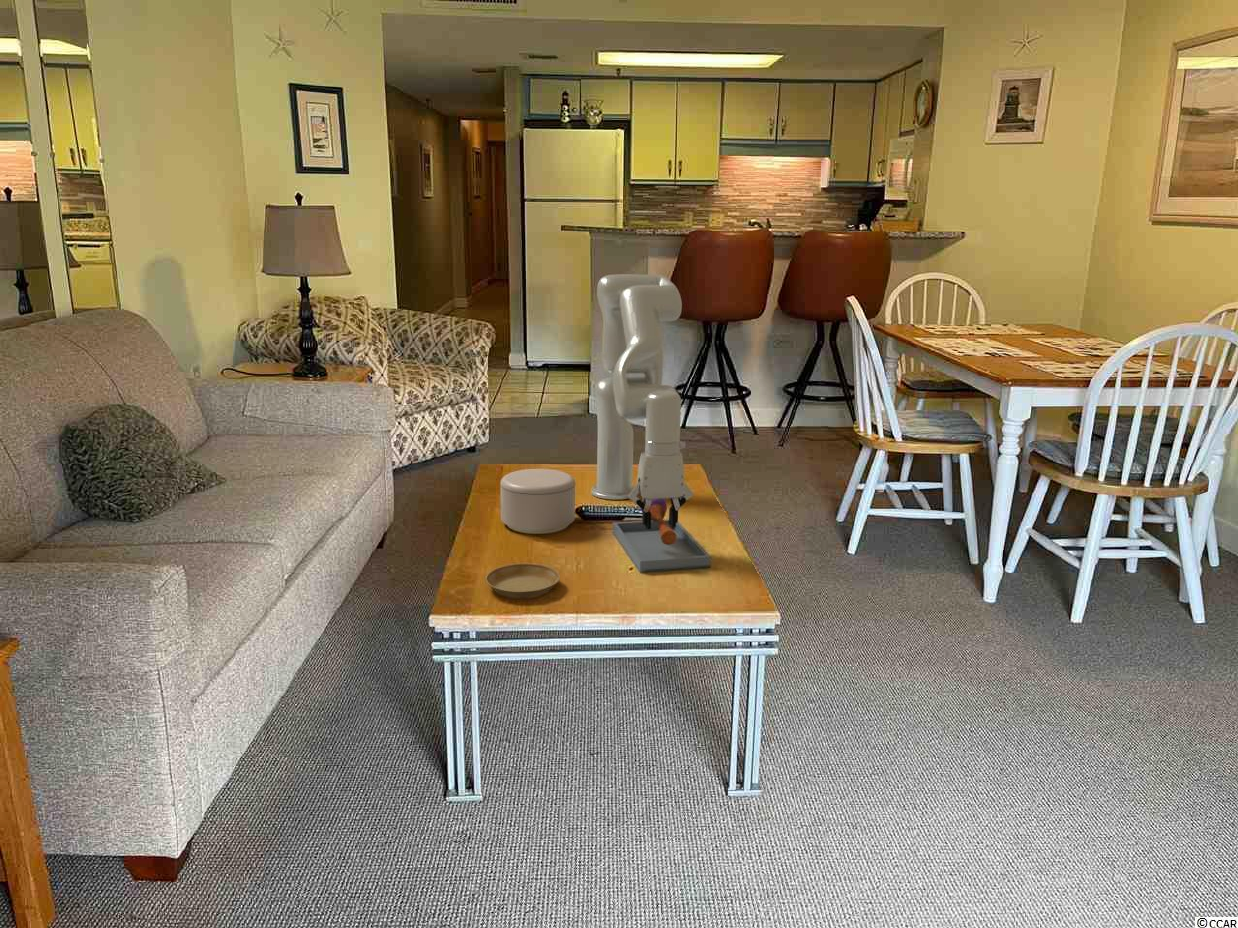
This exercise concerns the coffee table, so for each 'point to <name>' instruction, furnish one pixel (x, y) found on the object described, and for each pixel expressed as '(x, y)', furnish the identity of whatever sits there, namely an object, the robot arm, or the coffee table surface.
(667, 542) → the kendama
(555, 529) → the container
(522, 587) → the plant saucer
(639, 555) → the tray
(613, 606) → the coffee table surface
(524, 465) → the coffee table surface
